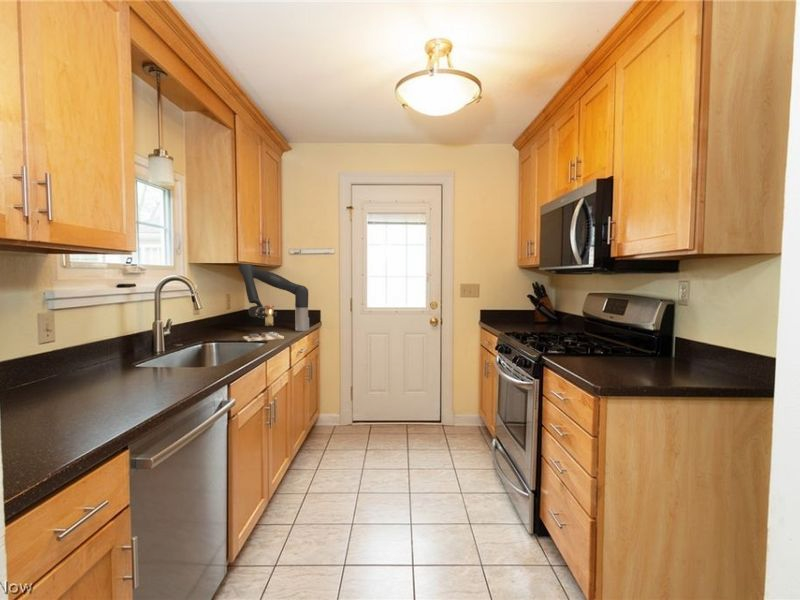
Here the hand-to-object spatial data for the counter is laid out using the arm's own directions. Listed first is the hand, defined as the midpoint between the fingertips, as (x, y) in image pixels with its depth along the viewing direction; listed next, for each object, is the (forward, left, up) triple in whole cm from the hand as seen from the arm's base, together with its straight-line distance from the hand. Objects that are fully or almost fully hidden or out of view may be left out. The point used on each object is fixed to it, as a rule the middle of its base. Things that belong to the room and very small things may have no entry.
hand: (270, 315), depth 254 cm
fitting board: (+4, -3, -15) cm, 16 cm away
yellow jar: (0, -3, -7) cm, 7 cm away
